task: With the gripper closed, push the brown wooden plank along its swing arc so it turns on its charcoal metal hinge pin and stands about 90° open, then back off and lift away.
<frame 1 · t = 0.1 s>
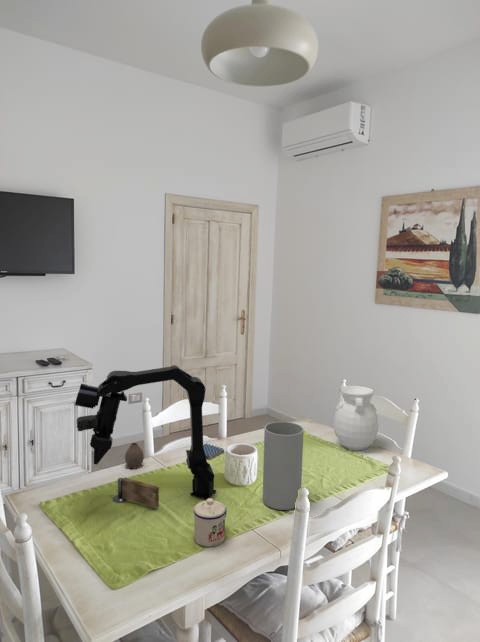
hand: (96, 458, 153), 15 cm above the table, tool pointing down, fingers open, 9 cm apart
woven mat: (207, 454, 197), on the table
pitcher: (354, 446, 207), on the table
cylinder vase: (281, 501, 159), on the table
brown wooden plank: (139, 493, 154), point 4 cm above the table, hinge at 0.0°
hinge pin: (120, 498, 158), on the table
teacup with lid: (212, 536, 138), on the table
vase: (134, 466, 183), on the table
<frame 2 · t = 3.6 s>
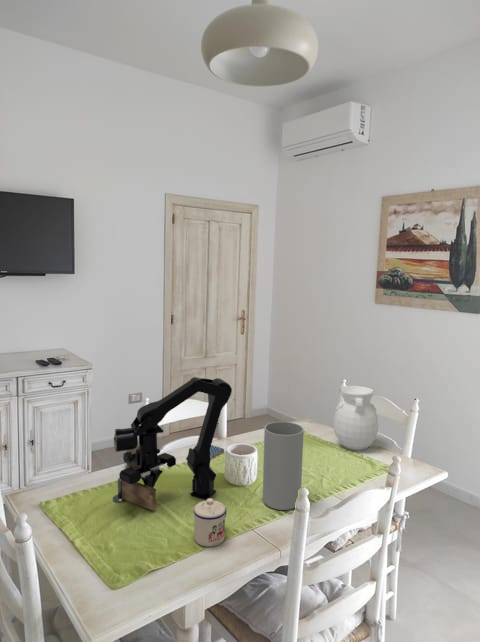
hand: (149, 492, 155), 4 cm above the table, tool pointing down, fingers closed
brown wooden plank: (138, 494, 153), point 4 cm above the table, hinge at 5.7°, touching gripper
everything else where it was.
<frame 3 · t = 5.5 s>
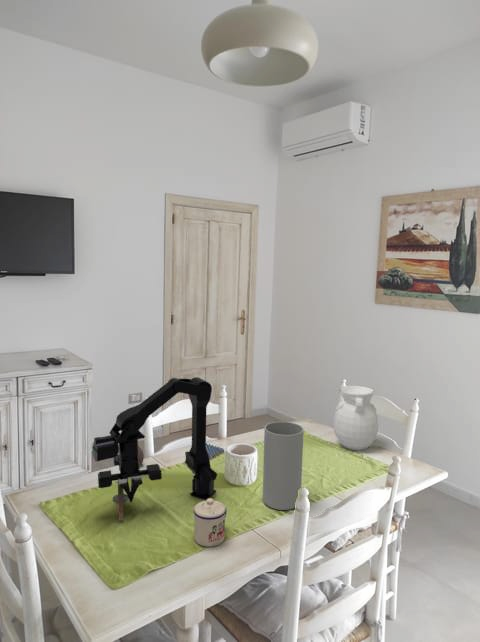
hand: (130, 501, 150), 4 cm above the table, tool pointing down, fingers closed
brown wooden plank: (120, 499, 150), point 4 cm above the table, hinge at 48.9°, touching gripper
everything else where it was.
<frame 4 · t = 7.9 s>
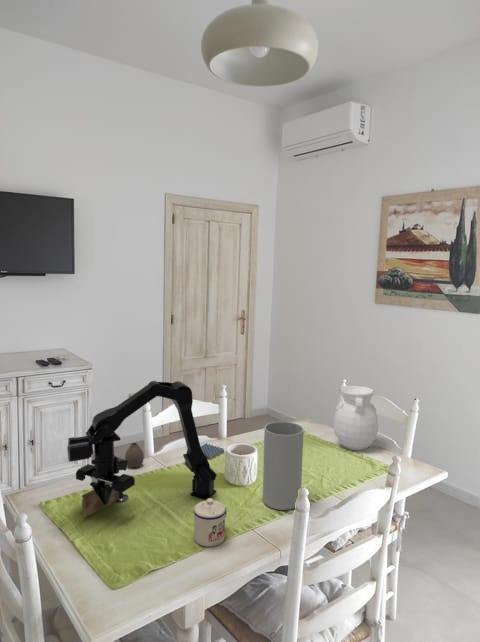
hand: (105, 503, 148), 3 cm above the table, tool pointing down, fingers closed
brown wooden plank: (101, 496, 151), point 4 cm above the table, hinge at 95.3°
everything else where it was.
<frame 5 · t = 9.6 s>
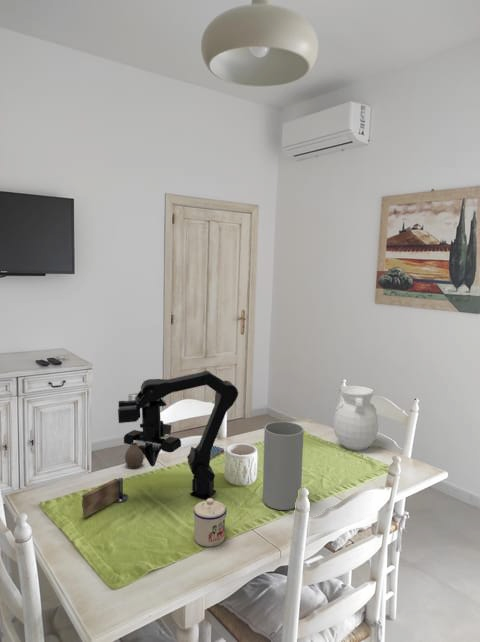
hand: (152, 465, 157), 12 cm above the table, tool pointing down, fingers closed
nothing on the table moved.
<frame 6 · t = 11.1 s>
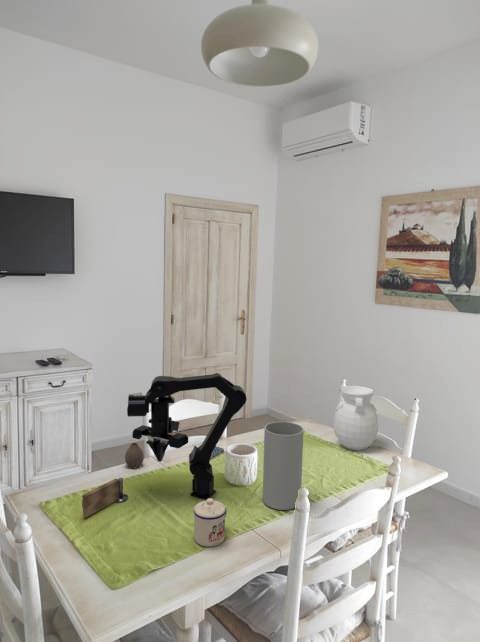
hand: (160, 461, 159), 12 cm above the table, tool pointing down, fingers closed
nothing on the table moved.
at the end: brown wooden plank at +95° (first picture: +0°); vase moved 0.2 cm from its start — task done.
